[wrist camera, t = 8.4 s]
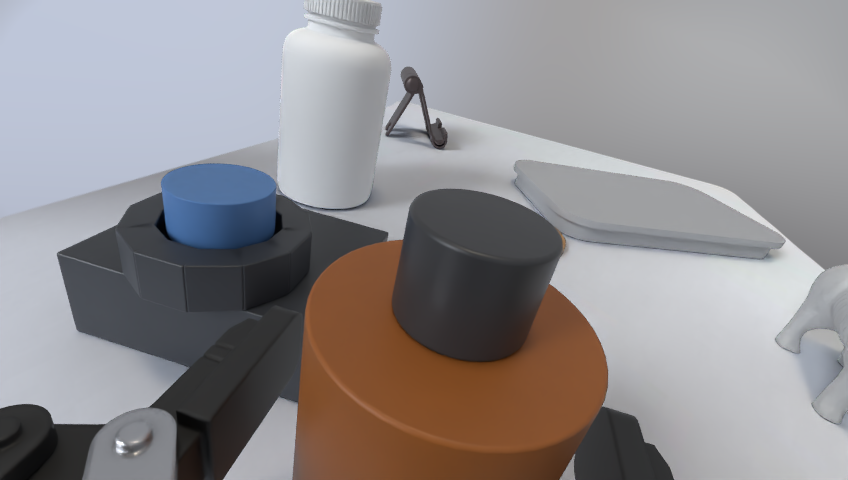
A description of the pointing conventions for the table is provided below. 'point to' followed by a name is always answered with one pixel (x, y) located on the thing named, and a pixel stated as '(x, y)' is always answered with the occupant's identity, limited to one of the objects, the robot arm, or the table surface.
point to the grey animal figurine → (825, 309)
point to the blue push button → (219, 206)
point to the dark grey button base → (198, 279)
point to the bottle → (447, 352)
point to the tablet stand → (414, 87)
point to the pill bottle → (332, 104)
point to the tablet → (640, 212)
